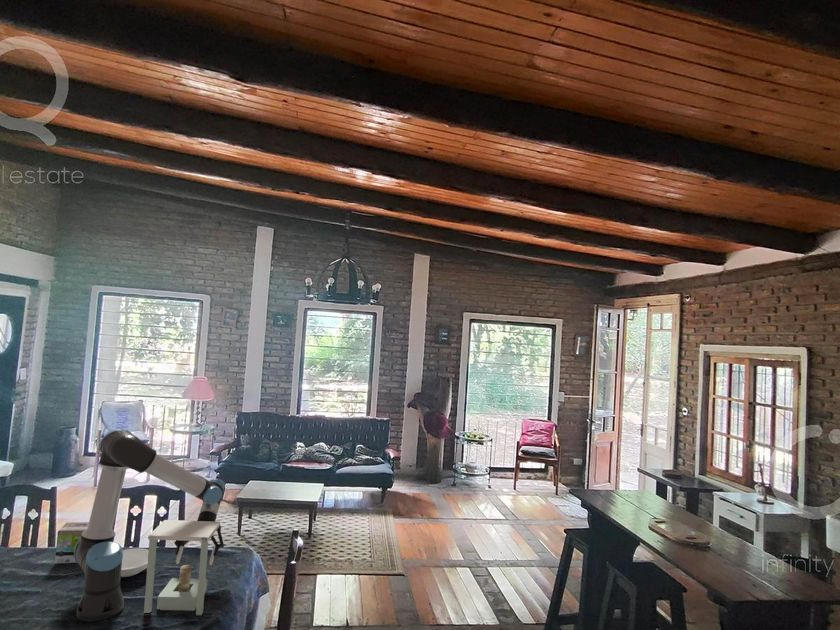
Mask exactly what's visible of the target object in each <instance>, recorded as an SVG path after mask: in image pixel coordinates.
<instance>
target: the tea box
mask: <svg viewBox="0 0 840 630" xmlns="http://www.w3.org/2000/svg"><path fill="white" fill-rule="evenodd" d="M88 525H89V521H81V522H80V521H79V522H78V521H77V522H72V521H71V522H70V521H69V522H65V523H64V525H63V526H61V528H59V529H58V531H57V533H56V535H57V536H56V546H55V555H54V556H55V558H54V564H57V565H58V564H71V563H72V564H73V563H76V564H78V563H77V562H76V560H75V557H74V548H75V545H76V544H77V542H78V541H79V540H80V539H81V535H82V532H83V531H85V530H86V529H87V528H88Z"/></svg>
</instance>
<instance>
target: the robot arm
mask: <svg viewBox="0 0 840 630" xmlns="http://www.w3.org/2000/svg"><path fill="white" fill-rule="evenodd" d="M99 448H100V449H99V450H100V453H101V454H100V458H99V462H98V464H99V465H100V467H101V472H100V476H99V480H98V483H97V484H98V485H97V488H96V492H95V497H94V501H93V504H92V508H91V512H90V517H89V519H88V520H89V521H88V522H89V525H88V528H87V529H86V530H85V531H83V532H82V535H81V539H80V540H79V541H78V542H77V544H76V545H75V548H74V557H75V560H76V562H77V563H76V564H78V566H79V567H80V569H81V570H82V572H83V573H84V584H83V585H84V586H83V587H84V588H83V594H82V596H81V598H80V601H79V603H78V605H77V608H76V618H77V619H78V620H79V621H83V622H99V621H104V620H107V619H110V618H112V617H114V616H116V615H118V614H119V613H120V612H121V611H122V610H123V608H124V605H125V604H124V603H125V599H124V598H125V597H124V595H123V591H122V589H121V578H122V577H121V567H122V558H123V552H122V550H123V547H122V545H120V544H119V543H118V542H114V541H115V536H116V531H114V529H113V527H114V522H115V518H116V515H117V510H118V505H119V502H120V498H121V494H122V489H123V485H124V481H125V477H126V472H127V470H128V469H131V470H133V471H136V472H138V473H139V474H142V473H147V474H148V475H151V476H153V477H154V478H157V479H158V480H161V481H163V482H165V483H167V484H169V485H170V486H173V487H175V488H176V489H179V490H180V491H183V492H185V493H187V494H189V495H191V496H193V497H195V498H196V499H199V500H200V501H202V504H201V508H200V510H199V514H198V516H197V517H198V518H197V520H196V521H213V522H217V521H216V520H217V515H218V513H219V509H220V506H221V502H222V499H223V496H224V492H225V489H226V483H225V481H223V480H222V479H218V478H213V479H210V480H208V479H206V478H204V477H203V476H201V475H199V474H198V473H194V472H192V471H189V470H187V469H185V468H184V467H182V466H179V464H177V463H174V462H172V461H171V460H168V459H166V458H165V457H162V456H161V455H160V454H158V453H157V450H155V449H154V448H152V447H150V446H149V445H148V444H146V443H145V442H144V441H143V440H141V439H140V438H139V437H138V436H136V435H134V434H133V433H132V432H131V431H129V430H126V429H122V428H121V429H120V428H116V429H113V430H110V431H108V432H107V433H106V434H105V435H103V436H102V438H101V440H100V442H99ZM216 531H217V537H218V541H219V543H218V541H217V539H216V538H215V536H214V535H213V536H212V537H211V538H210V540H211V541H212V543H213V545H214V546H213V548H212V551H211V553H210V554H211V555H210V558H209V561H208V563H209V565H210V566H212V565H213V563H214V559H215V557H218V553H219V550H220V549H221V548H224V547H225V544H224V540H223V536H222V535H223V534H222V532H221V531H222V526H221V524H220V526H219V528H218V529H217V530H216ZM189 542H190V541H182V540H174V546H176V547H177V548H176V551H175V555H176V558H175V563H176V564H177V565H179V564H180V561H181V558H182V555H183V553H184V552H183V551H184V546H185V545H187V543H189Z"/></svg>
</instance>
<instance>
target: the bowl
mask: <svg viewBox="0 0 840 630" xmlns="http://www.w3.org/2000/svg"><path fill="white" fill-rule="evenodd" d="M122 552H123V558H122V567H121V578H128V577H132V576H135V575H137V574H140V573H141V572H143V571H144V570H145V569H146V570H147V565H148V552H149V549H147V548H141V547H140V548H136V547H135V548H128V549H122Z"/></svg>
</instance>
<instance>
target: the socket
mask: <svg viewBox="0 0 840 630" xmlns="http://www.w3.org/2000/svg"><path fill="white" fill-rule="evenodd" d="M220 525H221V521H215V522H213V521H197V520H183V519H182V520H180V519H178V520H175V519H164V520H163V521H162V522H161V523H160V524H158V525H157V526H156V527H155V529H154V530H153V531H151V533H149V534H148V536H147V540H148V541H149V542H148V550H149V552H148V565H147V568H146V579H145V595H144V607H143V614H144V613H150V612H151V613H152V609H153V608H152V607H153V595H154V586H155V585H154V584H155V573H156V570H155V569H156V559H157V558H156V557H157V543H158V541H176V540H182V541H189V542H200V543H201V544H200V556H199V557H200V558H199V567H198V569H199V571H198V578H190V585H189V592H179V591H178V586H179V578H178V577H172V578H171V579H170V580H169V581H168V583H167V584H166V586H165V587H164V588H163V589H162V590H161V591H160V593H159V595H158V596H157V602H156V603H157V604H156V605H157V606H156V610H157V609H158V610H159V609H160V610H159V611H195V615H196V616H202V614H203V613H204V602H205V595H206V592H207V588H208V579H207V566H208V565H207V564H208V552H209V541H210V540H211V537H212V536H214V534H215V533H216V530H217V529H218V528H219V526H220ZM158 610H157V611H158ZM151 613H150V614H151Z"/></svg>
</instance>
